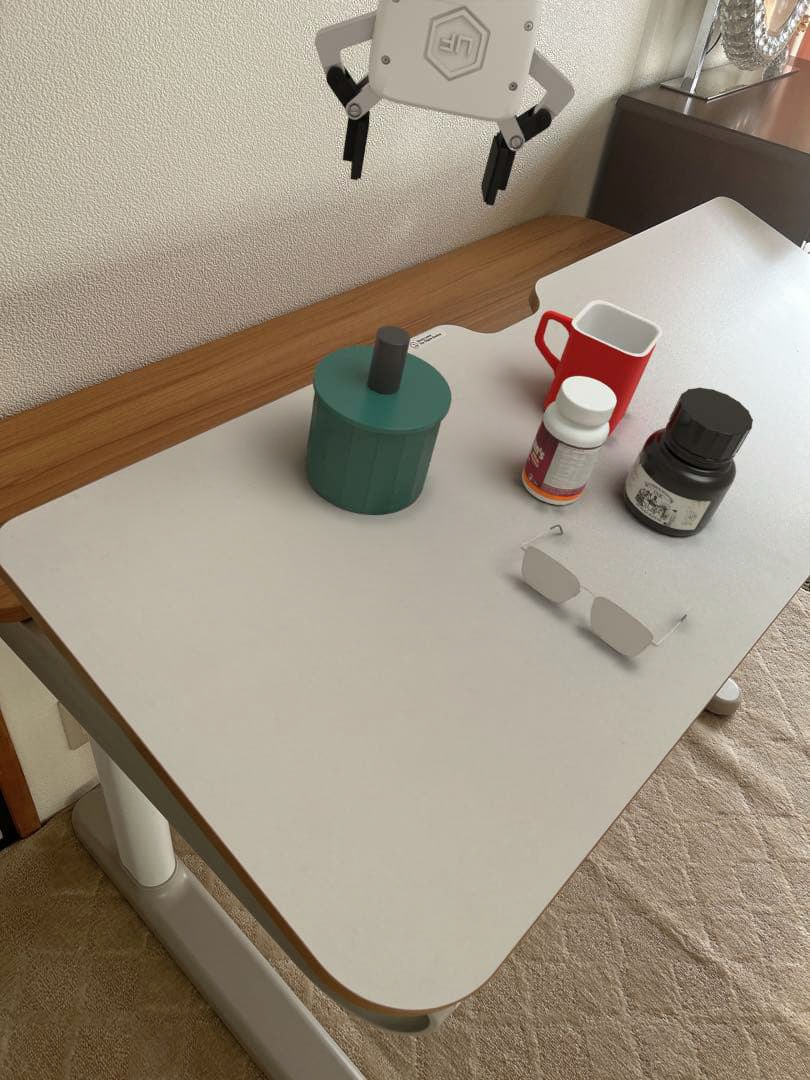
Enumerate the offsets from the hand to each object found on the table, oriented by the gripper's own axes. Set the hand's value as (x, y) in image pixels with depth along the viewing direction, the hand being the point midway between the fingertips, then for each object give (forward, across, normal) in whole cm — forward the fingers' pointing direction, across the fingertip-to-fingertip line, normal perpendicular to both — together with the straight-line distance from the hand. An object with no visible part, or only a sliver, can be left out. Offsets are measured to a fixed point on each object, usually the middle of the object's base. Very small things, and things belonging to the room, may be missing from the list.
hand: (421, 184), depth 63 cm
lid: (+18, 0, 0) cm, 18 cm away
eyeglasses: (+28, +21, -12) cm, 37 cm away
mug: (+28, +23, +16) cm, 39 cm away
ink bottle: (+28, +30, +1) cm, 41 cm away
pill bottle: (+28, +19, +2) cm, 34 cm away
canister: (+28, 0, 0) cm, 28 cm away
